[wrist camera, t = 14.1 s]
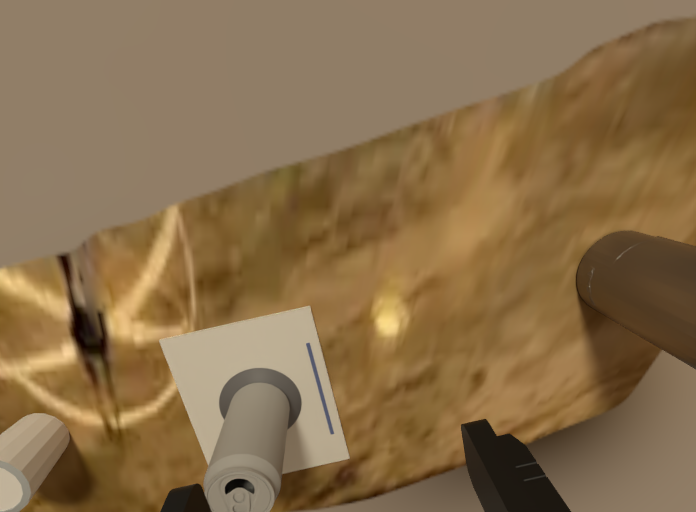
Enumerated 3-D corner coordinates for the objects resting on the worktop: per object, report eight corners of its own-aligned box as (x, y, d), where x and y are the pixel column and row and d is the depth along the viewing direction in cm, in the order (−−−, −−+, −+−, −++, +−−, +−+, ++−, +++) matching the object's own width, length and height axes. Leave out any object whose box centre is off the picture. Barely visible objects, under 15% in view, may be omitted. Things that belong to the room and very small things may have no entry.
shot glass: (40, 470, 43) (-12, 529, 37) (-6, 427, 42) (-69, 481, 35) (89, 442, 43) (46, 497, 36) (45, 397, 41) (-9, 446, 34)
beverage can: (290, 378, 42) (279, 466, 30) (290, 427, 44) (279, 528, 32) (230, 378, 41) (196, 467, 30) (232, 428, 43) (200, 530, 32)
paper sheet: (309, 305, 40) (309, 307, 40) (349, 456, 46) (349, 459, 45) (160, 339, 40) (158, 341, 40) (218, 486, 46) (217, 489, 45)
